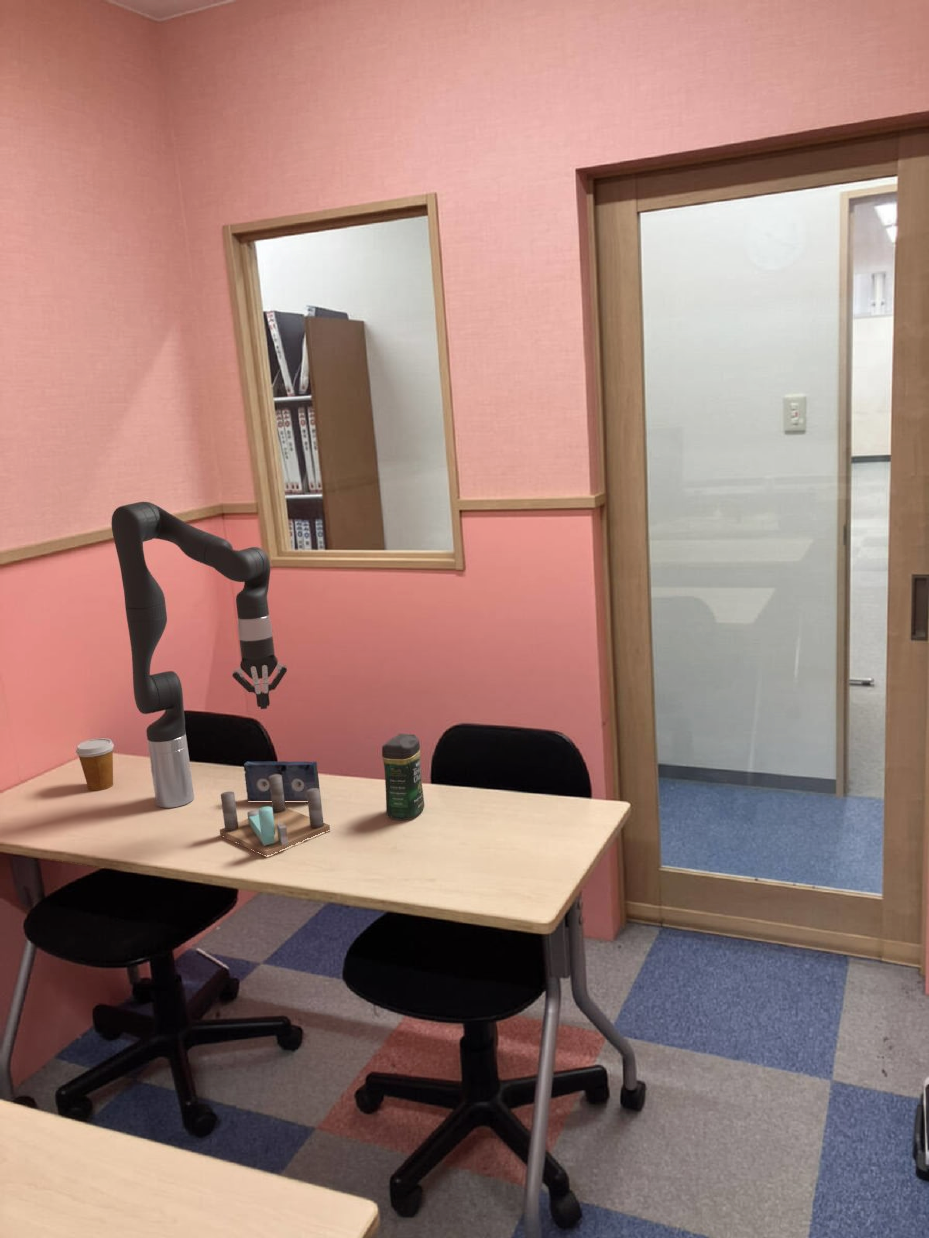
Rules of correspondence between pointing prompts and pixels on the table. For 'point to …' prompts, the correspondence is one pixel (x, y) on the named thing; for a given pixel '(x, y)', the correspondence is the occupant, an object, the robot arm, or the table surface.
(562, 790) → the table surface
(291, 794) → the vhs cassette tape
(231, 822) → the stool seat
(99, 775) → the disposable coffee cup
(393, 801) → the coffee jar
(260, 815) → the hinged leg
